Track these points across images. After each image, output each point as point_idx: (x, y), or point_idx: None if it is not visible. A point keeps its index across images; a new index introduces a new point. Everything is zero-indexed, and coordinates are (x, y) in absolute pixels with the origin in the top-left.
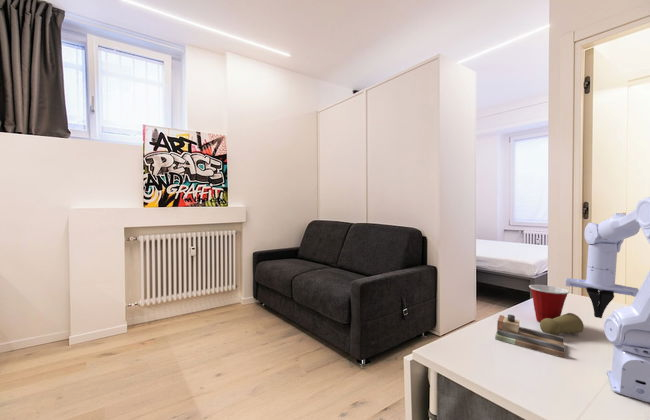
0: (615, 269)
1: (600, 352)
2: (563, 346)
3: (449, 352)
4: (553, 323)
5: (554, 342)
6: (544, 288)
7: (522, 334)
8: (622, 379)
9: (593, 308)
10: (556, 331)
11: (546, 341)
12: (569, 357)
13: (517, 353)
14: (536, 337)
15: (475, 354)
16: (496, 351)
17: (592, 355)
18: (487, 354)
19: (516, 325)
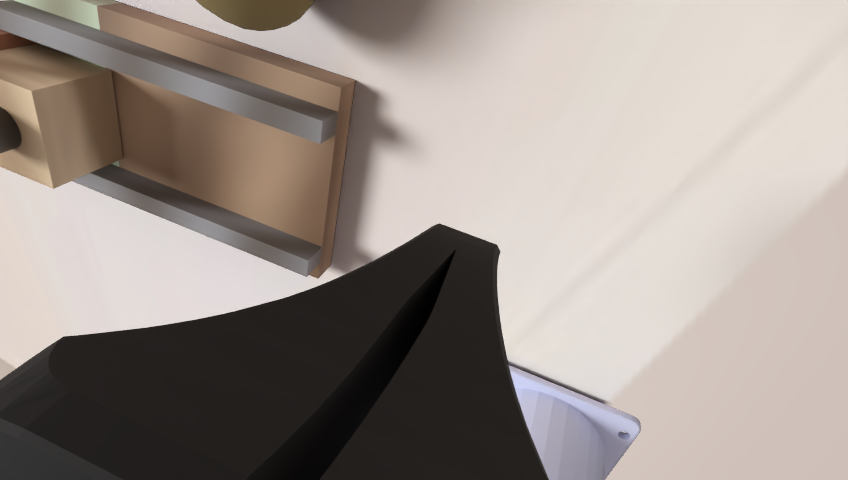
0: None
1: (562, 128)
2: (303, 265)
3: (10, 315)
4: (227, 5)
5: (286, 155)
6: None
7: (134, 99)
8: None
9: (397, 248)
10: (287, 23)
11: (248, 157)
12: (355, 252)
13: (166, 271)
14: (200, 116)
15: (65, 312)
16: (105, 275)
17: (484, 193)
18: (91, 304)
19: (49, 183)
